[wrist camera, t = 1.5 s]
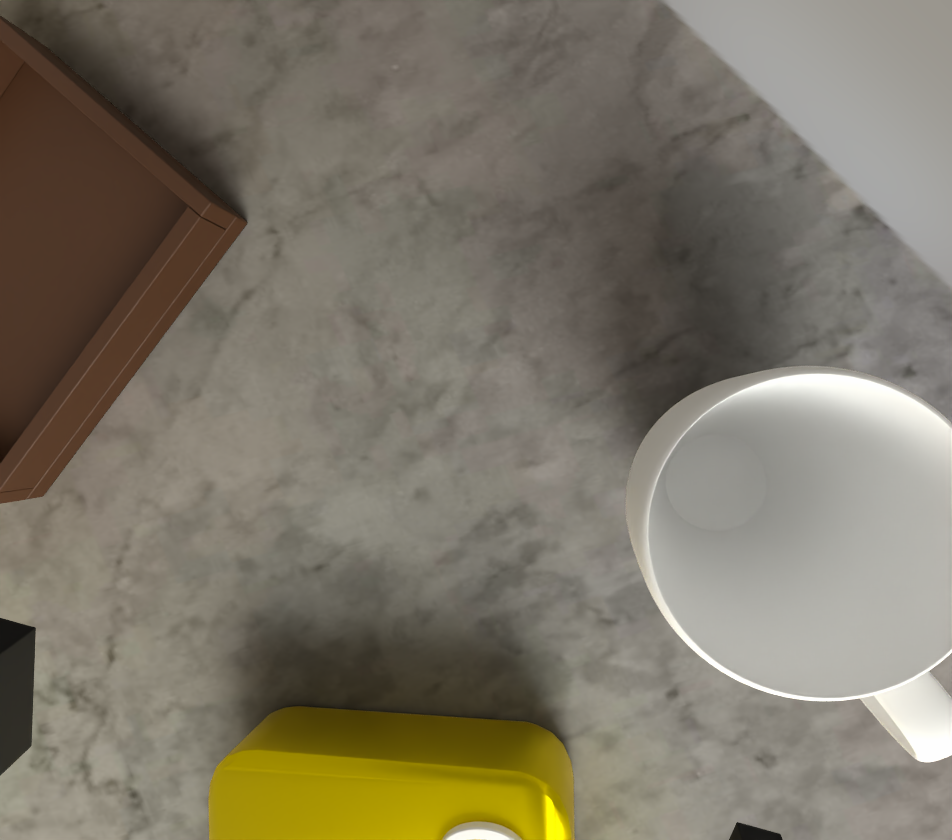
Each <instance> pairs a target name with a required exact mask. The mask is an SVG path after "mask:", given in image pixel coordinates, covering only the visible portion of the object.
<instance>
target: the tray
mask: <svg viewBox="0 0 952 840" xmlns="http://www.w3.org/2000/svg"><path fill="white" fill-rule="evenodd" d="M246 225H247V221H246V220H244V219H243V218H242V217H241V216H240V215H239V214H238V213H236V212H235V211H234V210H233V209H232V208H231V207H229V206H228V205H227V204H226V203H225V202H224V201H223V200H221V199H220V198H219V197H218V196H217V195H216V194H215V193H213V192H212V191H211V190H210V189H209V188H208V187H206V186H205V185H204V184H203V183H202V182H201V181H200V180H198V179H197V178H196V177H195V176H194V175H193V174H192V173H190V172H189V171H188V170H187V169H186V168H185V167H184V166H182V165H181V164H180V163H179V162H178V161H177V160H175V159H174V158H173V157H172V156H171V155H170V154H169V153H167V152H166V151H165V150H164V149H163V148H162V147H161V146H159V145H158V144H157V143H156V142H155V141H154V140H152V139H151V138H150V137H149V136H148V135H147V134H146V133H144V132H143V131H142V130H141V129H140V128H139V127H138V126H136V125H135V124H134V123H133V122H132V121H131V120H129V119H128V118H127V117H126V116H125V115H124V114H123V113H121V112H120V111H119V110H118V109H117V108H116V107H115V106H113V105H112V104H111V103H110V102H109V101H108V100H107V99H105V98H104V97H103V96H102V95H101V94H100V93H98V92H97V91H96V90H95V89H94V88H93V87H92V86H90V85H89V84H88V83H87V82H86V81H85V80H84V79H82V78H81V77H80V76H79V75H78V74H77V73H75V72H74V71H73V70H72V69H71V68H70V67H69V66H67V65H66V64H65V63H64V62H63V61H62V60H61V59H59V58H58V57H57V56H56V55H55V54H54V53H52V52H51V51H50V50H49V49H48V48H47V47H46V46H44V45H43V44H41V43H40V42H38V41H37V40H36V39H34V38H33V37H31V36H29V35H28V34H27V33H25V32H24V31H22V30H21V29H19V28H18V27H16V26H15V25H13V24H12V23H11V22H9V21H8V20H6V19H5V18H3V17H2V16H0V504H1V503H7V502H13V501H20V500H25V499H30V498H37V497H42V496H44V494H45V493H46V492H47V490H48V489H49V488H50V486H51V485H52V484H53V482H54V481H55V480H56V478H57V477H58V476H59V474H60V473H61V472H62V470H63V469H64V468H65V466H66V465H67V464H68V462H69V461H70V460H71V458H72V457H73V456H74V454H75V453H76V452H77V450H78V449H79V448H80V446H81V445H82V444H83V442H84V441H85V440H86V438H87V437H88V436H89V434H90V433H91V432H92V430H93V429H94V428H95V426H96V425H97V424H98V422H99V421H100V420H101V418H102V417H103V416H104V414H105V413H106V412H107V410H108V409H109V408H110V406H111V405H112V404H113V402H114V401H115V400H116V398H117V397H118V396H119V394H120V393H121V392H122V390H123V389H124V388H125V386H126V385H127V384H128V382H129V381H130V380H131V378H132V377H133V376H134V374H135V373H136V372H137V370H138V369H139V368H140V366H141V365H142V364H143V362H144V361H145V360H146V358H147V357H148V355H149V354H150V353H151V351H152V350H153V349H154V347H155V346H156V345H157V343H158V342H159V341H160V339H161V338H162V337H163V335H164V334H165V333H166V331H167V330H168V329H169V327H170V326H171V325H172V323H173V322H174V321H175V319H176V318H177V317H178V315H179V314H180V313H181V311H182V310H183V309H184V307H185V306H186V305H187V303H188V302H189V301H190V299H191V298H192V297H193V295H194V294H195V293H196V291H197V290H198V289H199V287H200V286H201V285H202V283H203V282H204V281H205V279H206V278H207V277H208V275H209V274H210V273H211V271H212V270H213V269H214V267H215V266H216V265H217V263H218V262H219V261H220V259H221V258H222V257H223V255H224V254H225V253H226V251H227V250H228V249H229V247H230V246H231V245H232V243H233V242H234V241H235V239H236V238H237V237H238V235H239V234H240V233H241V231H242V230H243V229H244V227H245V226H246Z"/></svg>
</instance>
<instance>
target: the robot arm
mask: <svg viewBox="0 0 952 840" xmlns="http://www.w3.org/2000/svg"><path fill="white" fill-rule="evenodd" d="M35 630H36V628H35V627H31V626H27V625H24V624H20V623H17V622H13V621H9V620H6V619H2V618H0V775H1V774H3V773H4V772H5V771H6V770H7V769H8V768H9V767H10V766H11V765H12V764H13V763H14V762H15V761H16V760H17V759H18V758H19V757H20V756H21V755H22V754H23V753H25V752H26V751H27V750H28V749H29V748H30V747H31V743H32V715H33V687H34V659H35ZM729 840H782V837H781V835H780V834H778V833H774V832H771V831H767V830H764V829H760V828H756V827H753V826H749V825H746V824H742V823H738V822H737V823H736V826H735V828H734V830H733V832H732V834H731V837H730V839H729Z"/></svg>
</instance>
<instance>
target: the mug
mask: <svg viewBox="0 0 952 840" xmlns="http://www.w3.org/2000/svg"><path fill="white" fill-rule="evenodd" d="M626 519H627V526H628V531H629V535H630V539H631V543H632V546H633V549H634V552H635V555H636V558H637V561H638V563H639V566H640V569H641V572H642V574H643V577H644V579H645V582H646V584H647V586H648V589H649V591H650V593H651V595H652V597H653V599H654V601H655V602H656V604H657V606H658V608H659V609H660V611H661V612H662V614H663V616H664V617H665V618H666V620H667V621H668V623H669V624H670V625H671V627H672V628H673V629H674V630H675V632H676V633H677V634H678V635H679V636H680V637H681V638H682V639H683V640H684V642H685V643H686V644H687V645H688V646H689V647H690V648H692V649H693V650H694V651H695V652H696V653H697V654H698V655H699V656H701V657H702V658H703V659H704V660H706V661H707V662H708V663H710V664H711V665H713V666H714V667H715V668H717V669H718V670H720V671H722V672H723V673H725V674H727V675H728V676H730V677H732V678H734V679H736V680H738V681H740V682H742V683H744V684H746V685H749V686H751V687H754V688H756V689H759V690H762V691H765V692H768V693H771V694H775V695H779V696H783V697H788V698H794V699H801V700H810V701H840V700H850V699H857V698H860V699H861V700H862V702H863V703H864V704H865V705H866V707H867V708H868V709H869V710H870V711H871V712H872V714H873V715H874V716H875V717H876V718H877V719H878V721H879V722H880V723H881V724H882V725H883V726H884V727H885V729H886V730H887V731H888V732H889V733H890V734H891V735H892V736H893V737H894V738H895V740H896V741H897V742H898V743H899V744H900V745H901V746H902V747H903V748H904V749H905V750H906V751H907V752H908V753H909V754H910V755H912V756H913V757H914V758H915V759H917V760H919V761H922V762H933V761H937V760H940V759H943V758H946V757H948V756H950V755H952V698H951V696H950V695H949V694H948V693H947V691H946V690H945V689H944V688H943V687H942V685H941V684H940V683H939V682H938V681H937V679H936V678H935V677H934V676H933V675H932V674H931V672H930V671H929V670H931V669H932V668H933V667H935V666H936V665H938V664H939V663H940V662H941V661H943V660H944V659H945V658H946V657H947V656H948V655H950V654H951V653H952V423H951V422H950V421H949V420H948V419H947V418H946V417H945V416H944V415H942V414H941V413H940V412H939V411H938V410H937V409H935V408H934V407H933V406H931V405H930V404H929V403H927V402H926V401H924V400H923V399H921V398H920V397H918V396H917V395H915V394H913V393H911V392H910V391H908V390H906V389H904V388H902V387H900V386H898V385H896V384H894V383H892V382H889V381H887V380H884V379H882V378H879V377H876V376H873V375H869V374H866V373H862V372H858V371H854V370H849V369H843V368H836V367H826V366H793V367H783V368H775V369H770V370H764V371H759V372H755V373H751V374H746V375H742V376H738V377H733V378H730V379H726V380H723V381H720V382H716V383H714V384H711V385H709V386H706V387H704V388H702V389H700V390H698V391H696V392H694V393H692V394H690V395H689V396H687V397H685V398H684V399H682V400H681V401H679V402H678V403H677V404H675V405H674V406H673V407H672V408H670V409H669V410H668V411H667V412H666V413H665V414H664V415H663V416H662V417H661V418H660V419H659V420H658V421H657V422H656V423H655V424H654V425H653V427H652V428H651V429H650V431H649V432H648V433H647V435H646V436H645V438H644V439H643V441H642V443H641V445H640V447H639V448H638V450H637V453H636V455H635V457H634V460H633V463H632V466H631V469H630V473H629V477H628V482H627V489H626Z"/></svg>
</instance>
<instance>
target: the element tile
mask: <svg viewBox="0 0 952 840" xmlns="http://www.w3.org/2000/svg"><path fill="white" fill-rule="evenodd" d="M209 840H574V777H573V771H572V765H571V760H570V758H569V756H568V754H567V751H566V749H565V747H564V745H563V743H562V742H561V741H560V740H559V739H558V738H557V737H556V736H555V735H554V734H553V733H552V732H551V731H549V730H546V729H544V728H542V727H540V726H538V725H536V724H533V723H530V722H524V721H509V720H495V719H480V718H465V717H450V716H436V715H421V714H406V713H391V712H377V711H362V710H347V709H333V708H318V707H303V706H295V707H286V708H283V709H280V710H277V711H275V712H272V713H270V714H269V715H268V716H267V717H266V718H265V719H264V720H263V721H262V722H261V723H260V724H259V725H258V726H257V727H256V728H255V729H254V730H253V731H252V732H251V733H249V734H248V735H247V736H246V737H245V738H244V739H243V740H242V741H241V742H240V743H239V744H238V745H237V746H236V747H235V748H234V749H233V750H232V751H231V752H230V753H229V754H228V755H227V756H226V757H225V758H224V759H223V760H222V761H221V762H220V763H219V764H218V765H217V767H216V770H215V772H214V775H213V777H212V780H211V783H210V790H209Z"/></svg>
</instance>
